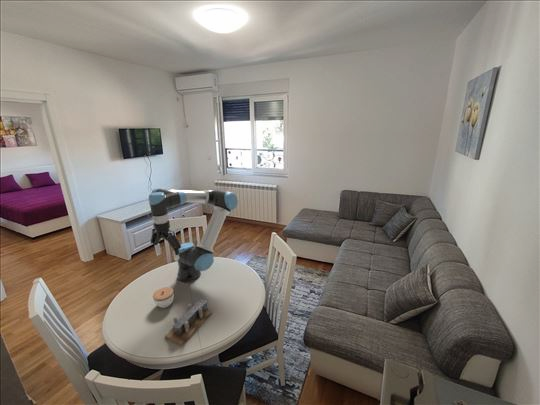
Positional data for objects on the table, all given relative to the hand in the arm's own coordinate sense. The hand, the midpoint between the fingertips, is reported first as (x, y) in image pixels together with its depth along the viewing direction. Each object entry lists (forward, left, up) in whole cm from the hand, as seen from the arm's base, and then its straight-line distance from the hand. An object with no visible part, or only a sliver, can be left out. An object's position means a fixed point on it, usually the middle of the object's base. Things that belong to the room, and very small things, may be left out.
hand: (167, 257), depth 133 cm
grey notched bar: (+9, +21, -27) cm, 36 cm away
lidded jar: (+5, -3, -29) cm, 29 cm away
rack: (+11, +21, -29) cm, 37 cm away
